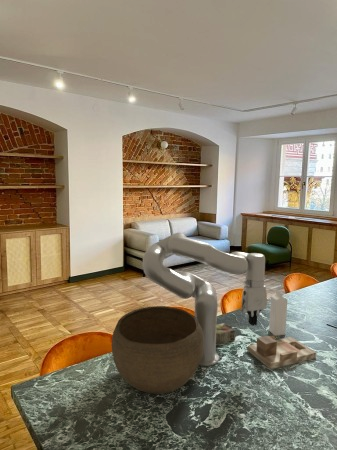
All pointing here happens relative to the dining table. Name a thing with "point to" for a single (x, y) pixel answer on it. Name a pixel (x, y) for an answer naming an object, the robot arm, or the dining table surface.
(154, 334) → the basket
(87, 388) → the dining table surface
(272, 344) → the light brown block
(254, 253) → the robot arm
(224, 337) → the juice carton
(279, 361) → the tan puzzle board
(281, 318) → the milk
